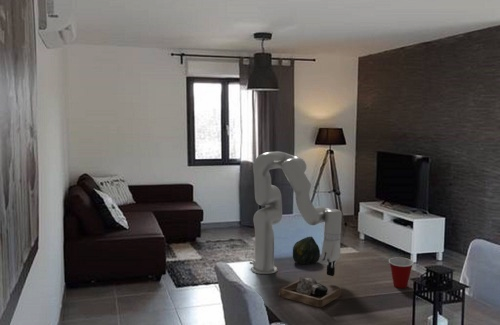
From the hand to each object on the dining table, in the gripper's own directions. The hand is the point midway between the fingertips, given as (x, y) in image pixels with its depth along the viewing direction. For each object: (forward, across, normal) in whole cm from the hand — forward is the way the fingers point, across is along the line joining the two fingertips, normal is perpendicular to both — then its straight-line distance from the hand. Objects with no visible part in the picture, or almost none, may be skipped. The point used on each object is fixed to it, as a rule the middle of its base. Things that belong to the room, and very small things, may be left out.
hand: (330, 275), depth 213 cm
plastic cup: (+3, -16, +27) cm, 32 cm away
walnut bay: (+4, +19, +1) cm, 19 cm away
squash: (+5, -21, -26) cm, 34 cm away
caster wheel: (+4, +16, +1) cm, 17 cm away
